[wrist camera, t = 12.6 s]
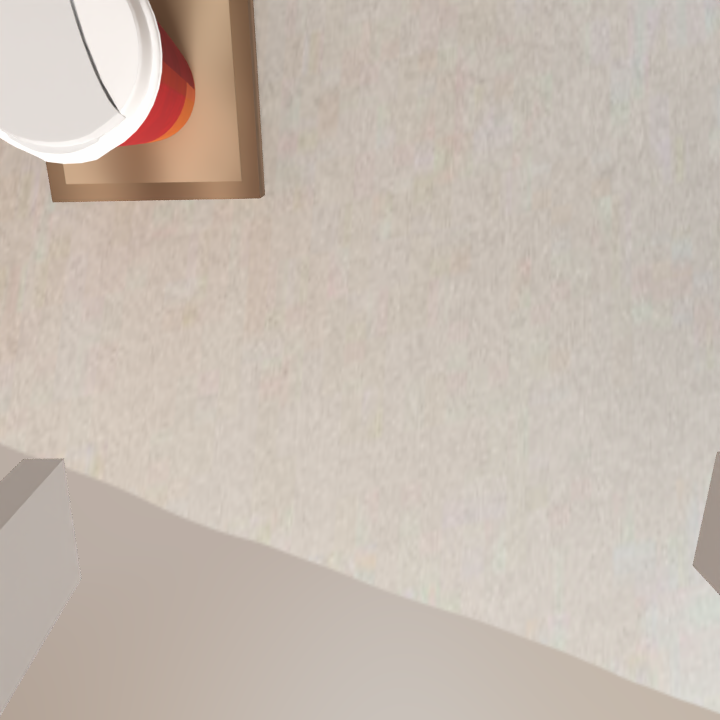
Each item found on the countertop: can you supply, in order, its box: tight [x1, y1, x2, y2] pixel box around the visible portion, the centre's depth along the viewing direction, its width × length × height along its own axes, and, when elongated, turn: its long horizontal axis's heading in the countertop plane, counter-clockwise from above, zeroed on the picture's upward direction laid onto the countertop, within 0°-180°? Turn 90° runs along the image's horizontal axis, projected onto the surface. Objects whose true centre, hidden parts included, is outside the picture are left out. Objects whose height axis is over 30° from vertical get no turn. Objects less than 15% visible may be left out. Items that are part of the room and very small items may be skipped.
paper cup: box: [0, 0, 195, 164], centre depth 27 cm, size 8×8×14 cm
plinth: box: [46, 0, 265, 202], centre depth 36 cm, size 12×12×4 cm
